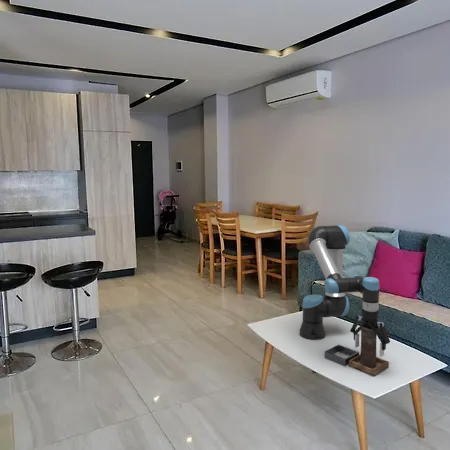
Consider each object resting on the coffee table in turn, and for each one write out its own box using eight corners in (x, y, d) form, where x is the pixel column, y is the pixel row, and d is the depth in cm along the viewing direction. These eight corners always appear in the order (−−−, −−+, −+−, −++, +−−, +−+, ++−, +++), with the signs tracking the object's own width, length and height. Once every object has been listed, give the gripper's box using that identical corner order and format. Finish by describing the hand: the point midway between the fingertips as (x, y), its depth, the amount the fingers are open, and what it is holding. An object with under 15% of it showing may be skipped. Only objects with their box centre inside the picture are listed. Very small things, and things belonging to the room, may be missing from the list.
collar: (324, 357, 208) (324, 351, 207) (338, 350, 215) (338, 344, 215) (345, 366, 198) (345, 359, 198) (359, 358, 206) (359, 352, 205)
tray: (348, 366, 198) (348, 360, 198) (363, 357, 207) (363, 352, 206) (373, 376, 188) (374, 370, 187) (388, 367, 196) (388, 361, 196)
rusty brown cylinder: (357, 361, 201) (358, 323, 198) (371, 361, 201) (373, 323, 199) (364, 369, 193) (365, 329, 191) (378, 368, 194) (380, 329, 191)
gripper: (343, 304, 200) (342, 345, 203) (390, 318, 182) (389, 362, 184) (352, 301, 205) (351, 341, 208) (398, 314, 186) (397, 357, 189)
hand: (368, 351), depth 196 cm, fingers open, 13 cm apart
